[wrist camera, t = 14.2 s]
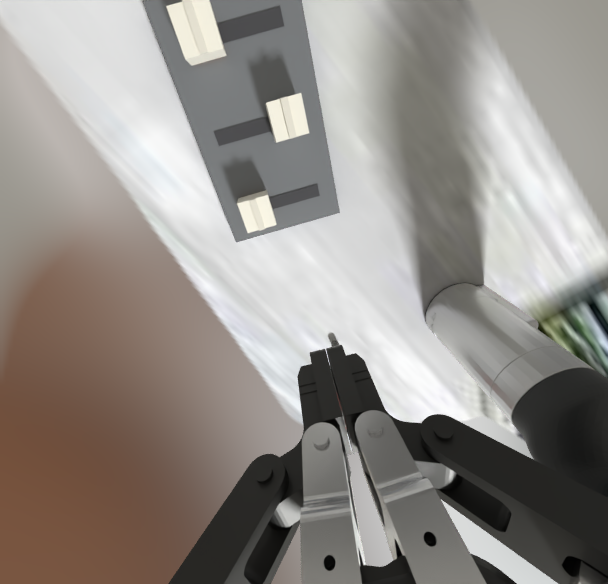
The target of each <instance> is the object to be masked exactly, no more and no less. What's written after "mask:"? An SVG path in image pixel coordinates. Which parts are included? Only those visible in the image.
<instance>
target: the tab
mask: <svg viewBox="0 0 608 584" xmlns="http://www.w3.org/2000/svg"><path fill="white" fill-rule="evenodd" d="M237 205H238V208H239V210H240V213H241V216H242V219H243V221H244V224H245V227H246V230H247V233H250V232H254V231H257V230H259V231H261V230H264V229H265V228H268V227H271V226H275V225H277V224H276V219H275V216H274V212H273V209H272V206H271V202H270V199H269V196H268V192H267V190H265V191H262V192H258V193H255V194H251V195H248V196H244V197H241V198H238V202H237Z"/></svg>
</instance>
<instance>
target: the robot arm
mask: <svg viewBox="0 0 608 584" xmlns="http://www.w3.org/2000/svg"><path fill="white" fill-rule="evenodd" d="M426 324H427V326H428V327H429V329H430V330H431V331H432V332H433V334H434V335H435V336H436V337H437V338H438V339H439V340H440V341H441V342H442V344H443V345H444V346H445V347H446V348H447V349H448V351H449V352H450V353H451V354H452V355H453V356H454V357H455V359H456V360H457V361H458V362H459V363H460V364H461V365H462V367H463V368H464V369H465V370H466V371H467V372H468V374H469V375H470V376H471V377H472V378H473V379H474V380H475V382H476V383H477V384H478V385H479V386H480V387H481V388H482V390H483V391H484V392H485V393H486V394H487V395H488V396H489V398H490V399H491V400H492V401H493V402H494V403H495V404H496V405H497V407H498V408H499V409H500V410H501V411H502V412H503V413H504V415H505V416H506V417H507V418H508V419H509V420H510V421H511V423H512V424H513V425H514V426H515V427H516V428H517V429H518V431H519V432H520V433H521V434H522V435H523V437H524V439H525V441H526V444H527V446H528V449H529V451H530V453H531V455H532V457H533V458H534V460H533V459H531V458H529V457H527V456H525V455H523V454H521V453H519V452H517V451H515V450H513V449H512V448H509V447H508V446H506V445H504V444H502V443H500V442H497V441H496V440H494V439H492V438H490V437H488V436H486V435H484V434H482V433H480V432H478V431H476V430H474V429H473V428H470V427H469V426H467V425H465V424H463V423H461V422H459V421H457V420H455V419H453V418H451V417H449V416H446V415H438V414H437V415H431V416H429V417H427V418H426V419H424V421H423V422H422V423H410V422H403V421H399V420H397V419H395V418H393V417H392V416H391V415H389V414H388V413H387V411H386V410H385V408H384V406H383V404H382V402H381V399H380V397H379V395H378V392H377V390H376V387H375V385H374V383H373V380H372V379H371V376H370V373H369V371H368V369H367V366H366V364H365V362H364V360H363V359H362V358H361V357H360V356H358V355H357V354H356V353H355V354H351V355H347V356H346V355H345V352H344V350H343V347H342V345H339V346H334V347H330V348H326V350H327V354H328V358H329V362H328V358H327V354H326V351H325V349H322V350H318V351H314V352H310V357H311V362H312V364H310V365H306V366H302V367H301V368H300V371H299V374H298V384H299V392H300V400H301V408H302V416H303V424H304V432H303V436H302V439H301V440H300V442H299V443H298V444H297V446H296V447H295V448H294V449H292V450H291V451H289V452H287V453H286V454H284V455H283V456H281V457H278V456H276V455H273V454H265V455H262V456H260V457H258V458H256V459H255V460H254V461H253V462H252V463H251V464H250V466H249V467H248V468H247V470H246V471H245V473H244V474H243V476H242V477H241V479H240V480H239V481H238V483H237V484H236V486H235V487H234V489H233V490H232V492H231V493H230V495H229V496H228V498H227V499H226V500H225V502H224V503H223V505H222V506H221V508H220V509H219V511H218V512H217V514H216V515H215V516H214V518H213V519H212V521H211V522H210V524H209V525H208V527H207V528H206V530H205V531H204V533H203V534H202V535H201V537H200V538H199V540H198V541H197V543H196V544H195V546H194V547H193V549H192V550H191V552H190V553H189V555H188V556H187V557H186V559H185V560H184V562H183V563H182V565H181V566H180V568H179V569H178V571H177V572H176V574H175V575H174V576H173V578H172V579H171V581H170V582H169V584H271V582H272V580H273V578H274V576H275V574H276V572H277V569H278V567H279V565H280V563H281V561H282V559H283V557H284V555H285V553H286V551H287V549H288V547H289V545H290V543H291V541H292V539H293V537H294V535H295V533H296V530H297V528H298V526H299V524H300V535H301V580H302V581H301V582H302V584H516V583H515V582H514V581H513V580H511V579H510V578H509V577H508V576H507V575H505V574H504V573H503V572H502V571H500V570H499V569H498V568H496V567H495V566H493V565H492V564H490V563H489V562H487V561H485V560H483V559H481V558H480V557H478V556H475V555H473V554H470V552H469V551H468V549H467V547H466V545H465V543H464V541H463V540H462V538H461V536H460V534H459V532H458V530H457V529H456V527H455V525H454V523H453V522H452V519H451V518H450V516H449V514H448V512H447V510H446V509H445V507H444V505H443V503H442V501H441V499H442V500H443V501H444V502H446V503H447V504H449V505H450V506H451V507H453V508H454V509H455V510H457V511H458V512H460V513H461V514H462V515H464V516H465V517H467V518H468V519H470V520H471V521H472V522H474V523H475V524H476V525H478V526H479V527H481V528H482V529H483V530H485V531H486V532H488V533H489V534H490V535H492V536H493V537H494V538H496V539H497V540H499V541H500V542H501V543H503V544H504V545H506V546H507V547H508V548H510V549H511V550H513V551H514V552H515V553H517V554H518V555H520V556H521V557H522V558H524V559H525V560H527V561H528V562H529V563H531V564H532V565H533V566H535V567H536V568H538V569H539V570H540V571H542V572H543V573H545V574H546V575H547V576H549V577H550V578H551V579H553V580H554V581H556V582H557V583H558V584H608V379H607V378H606V377H604V376H603V375H602V374H600V373H599V372H597V371H596V370H594V369H593V368H592V367H590V366H589V365H587V364H586V363H584V362H583V361H582V360H580V359H579V358H577V357H576V356H575V355H573V354H572V353H570V352H569V351H567V350H566V349H564V348H563V347H562V346H560V345H559V344H557V343H556V342H555V341H553V340H552V339H550V338H549V337H547V336H546V335H545V334H543V333H542V332H540V331H539V330H538V322H537V321H536V320H535V319H534V318H532V317H531V316H529V315H528V314H526V313H525V312H523V311H522V310H520V309H519V308H517V307H516V306H514V305H513V304H512V303H510V302H509V301H507V300H506V299H504V298H503V297H501V296H500V295H498V294H497V293H495V292H494V291H492V290H491V289H489V288H488V287H486V286H485V285H482V286H475V285H473V284H468V283H461V284H456V285H452V286H450V287H448V288H446V289H445V290H443V291H442V292H440V293H439V294H438V295H437V296H436V297H435V298H434V299H433V300H432V301H431V303H430V305H429V307H428V309H427V312H426ZM329 363H330V366H329ZM330 367H331V369H330ZM331 372H332V373H331ZM332 376H333V377H332ZM333 380H334V381H333ZM336 391H337V392H336ZM337 395H338V396H337ZM339 402H340V403H339ZM340 406H341V407H340ZM341 410H342V411H341ZM343 417H344V419H343ZM344 421H345V423H344ZM345 425H346V427H345ZM346 429H347V432H348V436H349V440H350V444H351V447H352V451H353V454H354V453H359V456H360V459H361V463H362V467H363V472H364V476H365V478H366V481H367V484H368V487H369V490H370V492H371V495H372V498H373V501H374V503H375V506H376V509H377V512H378V515H379V517H380V520H381V523H382V526H383V528H384V531H385V535H386V538H387V542H388V545H389V548H390V551H391V554H392V557H393V560H394V561H392V562H391V563H389V564H388V565H386V566H384V567H375V566H367V565H366V563H365V558H364V552H363V548H362V542H361V537H360V532H359V526H358V520H357V514H356V508H355V502H354V496H353V490H352V484H351V479H350V476H351V472H350V466H349V462H348V458H347V455H351V450H350V445H349V441H348V436H347V432H346Z"/></svg>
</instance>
